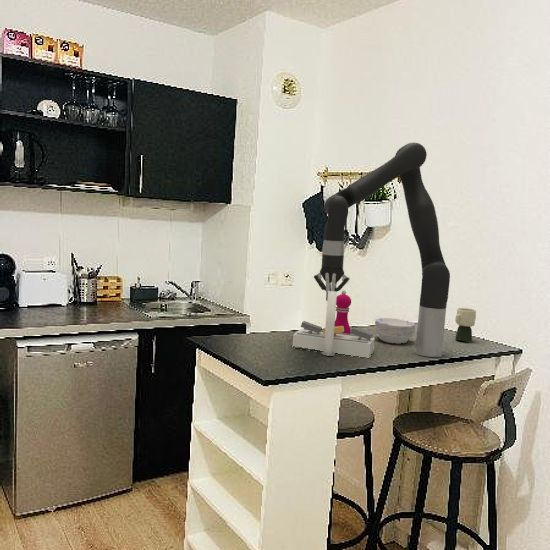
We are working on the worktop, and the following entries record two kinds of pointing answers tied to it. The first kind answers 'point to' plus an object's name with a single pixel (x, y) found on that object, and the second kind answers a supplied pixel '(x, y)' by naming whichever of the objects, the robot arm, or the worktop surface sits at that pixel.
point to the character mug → (465, 323)
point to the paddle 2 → (361, 333)
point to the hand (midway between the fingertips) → (330, 302)
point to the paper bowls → (394, 330)
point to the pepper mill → (343, 311)
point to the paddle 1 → (311, 327)
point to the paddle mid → (336, 329)
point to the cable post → (330, 323)
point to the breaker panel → (335, 343)
